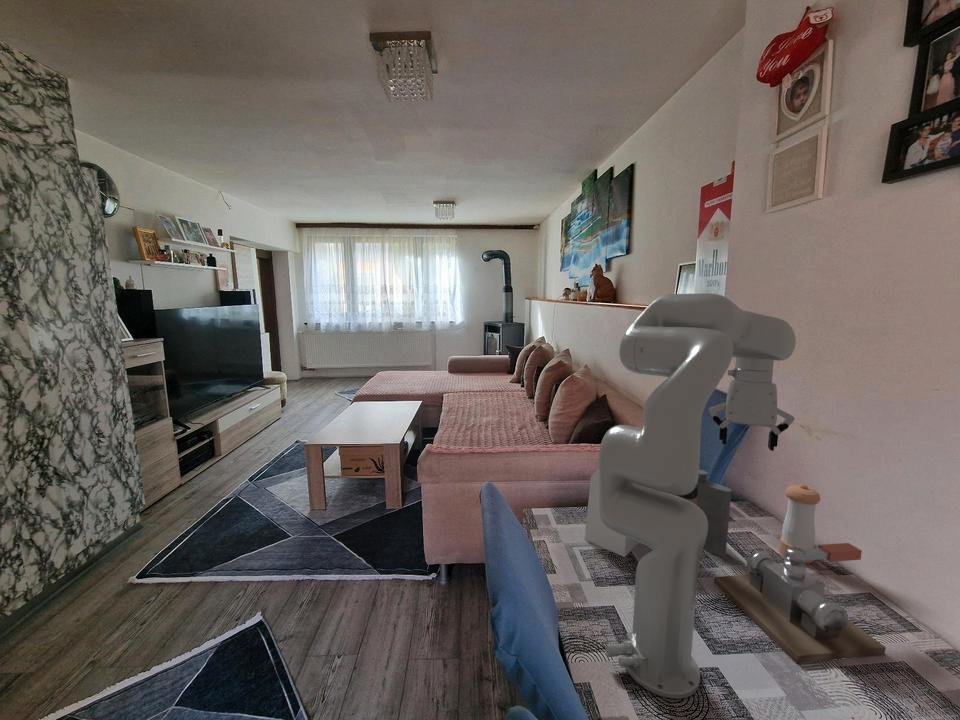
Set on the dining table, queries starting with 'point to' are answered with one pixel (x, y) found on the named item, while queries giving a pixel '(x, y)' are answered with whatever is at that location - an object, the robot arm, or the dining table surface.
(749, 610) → the walnut board
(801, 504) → the salt shaker
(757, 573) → the valve body
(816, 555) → the lever
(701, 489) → the hip flask
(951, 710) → the dining table surface
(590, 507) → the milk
